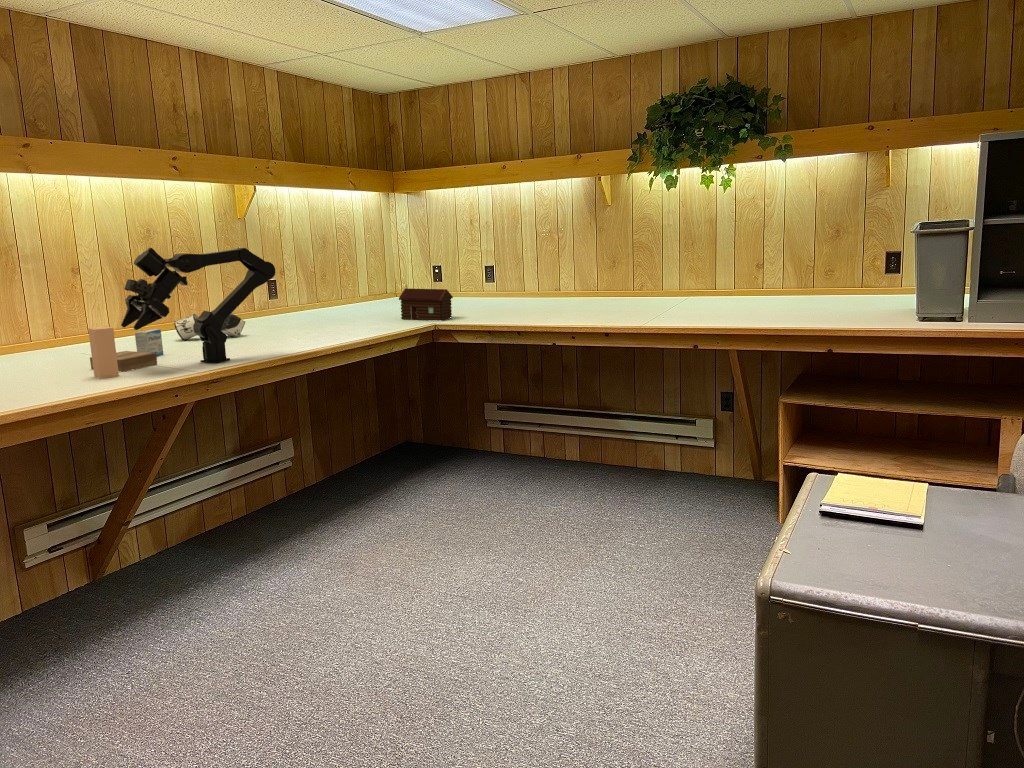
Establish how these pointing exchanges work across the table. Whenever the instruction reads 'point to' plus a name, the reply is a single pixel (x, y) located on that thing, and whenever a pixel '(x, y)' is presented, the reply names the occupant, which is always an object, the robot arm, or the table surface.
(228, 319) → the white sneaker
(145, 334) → the medicine box
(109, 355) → the terracotta block
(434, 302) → the model building
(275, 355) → the table surface
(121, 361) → the walnut block
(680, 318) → the table surface
